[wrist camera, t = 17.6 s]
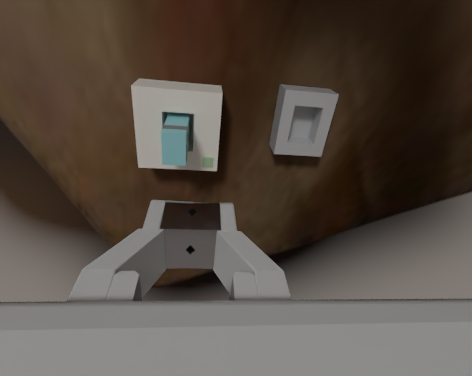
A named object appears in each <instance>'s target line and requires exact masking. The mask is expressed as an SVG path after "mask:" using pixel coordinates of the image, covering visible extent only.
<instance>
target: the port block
mask: <svg viewBox="0 0 472 376" xmlns="http://www.w3.org/2000/svg"><path fill="white" fill-rule="evenodd" d="M131 91H132V102H133V113H134V124H135V135H136V147H137V158H138V167H139V168H160V169H180V170H201V171H217V162H218V149H219V136H220V123H221V110H222V96H223V92H222V88H221V86H218V85H206V84H195V83H184V82H173V81H161V80H150V79H138V80H137V81H136V82H135V83H133V84H132V85H131ZM169 112H175V113H189V114H190V140H189V147H188V154H187V161H186V166H178V165H162V144H161V131H162V127H163V125H164V124H165V121H166V119H167V116H168V114H169Z"/></svg>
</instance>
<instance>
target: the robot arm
mask: <svg viewBox="0 0 472 376" xmlns="http://www.w3.org/2000/svg"><path fill="white" fill-rule="evenodd" d="M166 268H204V269H213V270H214V272H215V273H216V275H217V276H218V277H219V279H220V280H221V282H222V283H223V285H224V286H225V288H226V289H227V291H228V292H229V294H230V297H229V300H215V301H142V297H143V296H144V295H145V294H146V292H147V291H148V290H149V289H150V288H151V287H152V285H153V284H154V283H155V282H156V281H157V280H158V278H159V277H160V276H161V275H162V274H163V273H164V271H165V270H166ZM0 376H472V299H371V300H370V299H366V300H365V299H364V300H363V299H361V300H292V299H291V296H290V292H289V289H288V285H287V282H286V278H285V275H284V271H283V270H282V269H281V268H280V267H278V266H277V265H276V264H275V263H274V262H273V261H272V260H271V259H270V258H269V257H268V256H267V255H266V254H265V253H264V252H263V251H261V250H260V249H259V248H258V247H257V246H256V245H255V244H254V243H253V242H252V241H251V240H250V239H249V238H247V237H246V236H245V235H244V234H243V233H242V232H241V231H237V227H236V219H235V212H234V204H233V203H197V202H183V201H165V200H152V201H151V202H150V206H149V209H148V212H147V216H146V219H145V222H144V226H143V229H137V230H136V231H135V232H133V233H132V234H130V235H129V236H128V237H126V238H125V239H124V240H122V241H121V242H119V243H118V244H117V245H115V246H114V247H112V248H111V249H110V250H108V251H107V252H106V253H104V254H103V255H101V256H100V257H99V258H97V259H96V260H94V261H93V262H92V263H90V264H89V265H88V266H86V267H85V268H83V269H82V271H81V273H80V275H79V277H78V279H77V281H76V283H75V285H74V287H73V289H72V292H71V294H70V296H69V298H68V300H67V302H0Z"/></svg>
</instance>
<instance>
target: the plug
mask: <svg viewBox="0 0 472 376" xmlns="http://www.w3.org/2000/svg"><path fill="white" fill-rule="evenodd" d="M189 140H190V114H189V113H175V112H169V114H168V116H167V119H166V121H165V124H164V125H163V127H162V131H161V144H162V165H178V166H186V161H187V154H188V147H189Z"/></svg>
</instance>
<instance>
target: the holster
mask: <svg viewBox="0 0 472 376" xmlns="http://www.w3.org/2000/svg"><path fill="white" fill-rule="evenodd" d="M338 96H339V94H337V93H336V92H334V91H332V90H330V89H326V88H315V87H304V86H294V85H283V84H280V87H279V92H278V98H277V104H276V109H275V115H274V121H273V126H272V132H271V138H270V143H269V145H270V147H271V149H272V151H273V153H274V154H282V155H299V156H317V157H321V155H322V152H323V148H324V145H325V141H326V138H327V134H328V131H329V127H330V124H331V120H332V117H333V113H334V110H335V106H336V103H337V99H338Z"/></svg>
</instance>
